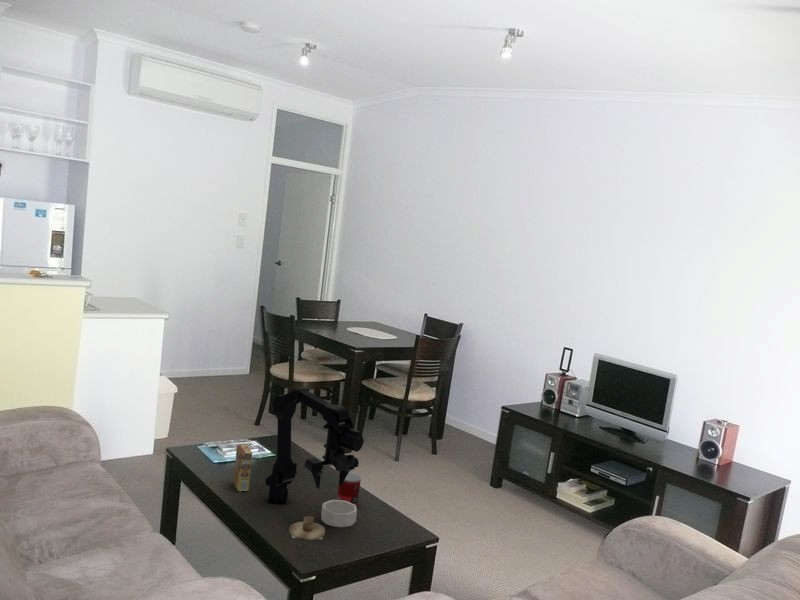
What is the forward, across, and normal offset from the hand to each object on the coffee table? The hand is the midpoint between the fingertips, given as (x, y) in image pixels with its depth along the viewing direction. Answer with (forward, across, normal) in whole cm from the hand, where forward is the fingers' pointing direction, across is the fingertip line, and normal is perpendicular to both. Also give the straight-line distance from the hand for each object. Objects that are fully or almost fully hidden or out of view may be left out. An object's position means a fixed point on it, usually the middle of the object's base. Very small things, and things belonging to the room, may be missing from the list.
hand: (329, 486), depth 236 cm
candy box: (+13, -15, +38) cm, 43 cm away
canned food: (+13, +15, +10) cm, 23 cm away
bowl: (+13, +5, 0) cm, 14 cm away
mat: (+13, -10, -5) cm, 17 cm away
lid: (+12, -10, -5) cm, 17 cm away
